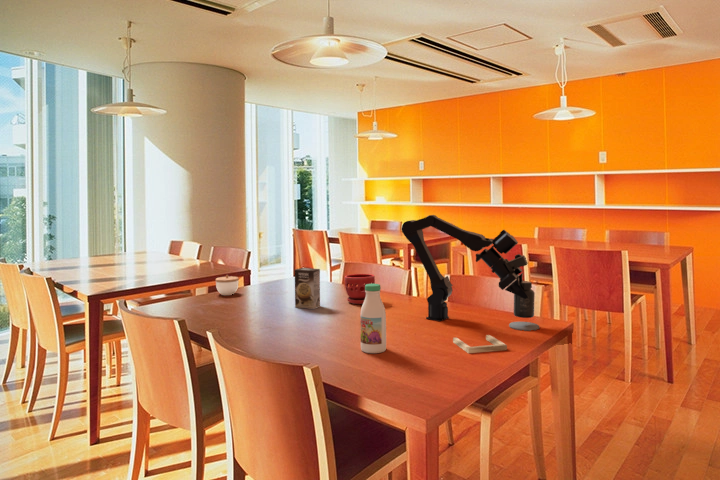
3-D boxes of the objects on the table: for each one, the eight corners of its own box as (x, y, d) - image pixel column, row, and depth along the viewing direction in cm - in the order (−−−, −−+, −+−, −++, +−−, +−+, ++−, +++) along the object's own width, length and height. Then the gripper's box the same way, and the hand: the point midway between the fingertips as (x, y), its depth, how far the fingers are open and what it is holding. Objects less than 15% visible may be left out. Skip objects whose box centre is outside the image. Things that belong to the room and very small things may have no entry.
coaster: (504, 327, 171) (504, 326, 171) (515, 321, 179) (515, 320, 178) (533, 332, 164) (533, 330, 164) (543, 326, 172) (543, 324, 172)
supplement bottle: (537, 316, 171) (538, 282, 170) (527, 319, 166) (528, 284, 165) (520, 312, 176) (520, 279, 175) (509, 315, 172) (510, 281, 170)
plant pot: (380, 300, 217) (380, 274, 216) (364, 306, 206) (364, 278, 205) (355, 297, 224) (355, 271, 223) (339, 303, 213) (338, 276, 212)
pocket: (453, 342, 155) (453, 337, 155) (489, 339, 157) (489, 334, 157) (468, 353, 144) (468, 348, 144) (506, 350, 146) (507, 345, 146)
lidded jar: (212, 296, 233) (211, 276, 232) (222, 291, 243) (221, 273, 242) (233, 296, 231) (232, 276, 230) (242, 292, 241) (242, 273, 240)
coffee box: (294, 307, 206) (293, 269, 205) (302, 304, 212) (301, 267, 211) (313, 309, 203) (313, 270, 201) (321, 305, 209) (320, 268, 207)
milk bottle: (369, 344, 154) (369, 281, 152) (391, 348, 149) (390, 283, 147) (355, 351, 147) (354, 285, 145) (377, 355, 143) (376, 287, 141)
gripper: (509, 250, 162) (544, 285, 159) (517, 244, 179) (548, 276, 176) (484, 272, 166) (517, 307, 163) (494, 264, 183) (524, 296, 180)
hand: (528, 296), depth 170 cm, fingers closed on supplement bottle, 7 cm apart
